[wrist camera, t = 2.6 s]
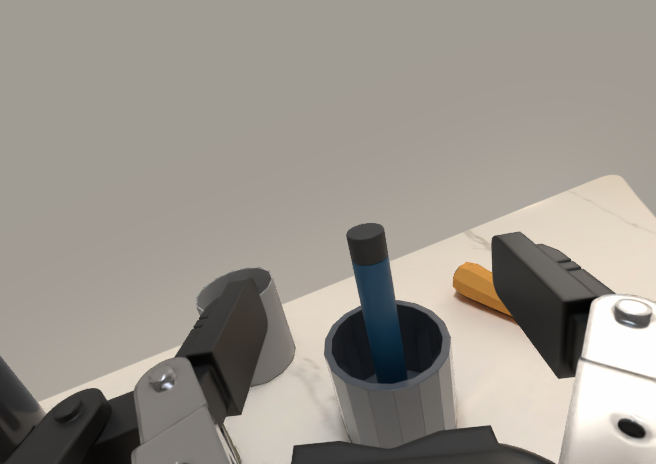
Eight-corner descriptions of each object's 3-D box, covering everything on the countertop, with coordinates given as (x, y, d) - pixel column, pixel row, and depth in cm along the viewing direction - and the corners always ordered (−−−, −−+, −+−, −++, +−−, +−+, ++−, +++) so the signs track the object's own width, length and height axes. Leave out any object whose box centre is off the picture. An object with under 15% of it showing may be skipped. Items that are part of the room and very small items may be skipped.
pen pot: (344, 475, 26) (320, 399, 22) (344, 373, 35) (327, 308, 31) (474, 464, 24) (469, 382, 21) (439, 361, 34) (432, 292, 30)
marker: (384, 422, 28) (346, 242, 22) (381, 396, 31) (345, 226, 24) (415, 419, 28) (386, 235, 21) (409, 393, 30) (381, 220, 24)
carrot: (451, 295, 43) (442, 275, 41) (473, 271, 44) (465, 250, 42) (646, 409, 28) (652, 389, 25) (673, 369, 29) (682, 345, 26)
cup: (278, 323, 45) (256, 260, 41) (307, 356, 38) (285, 283, 34) (218, 357, 41) (188, 291, 37) (239, 400, 35) (205, 324, 31)
